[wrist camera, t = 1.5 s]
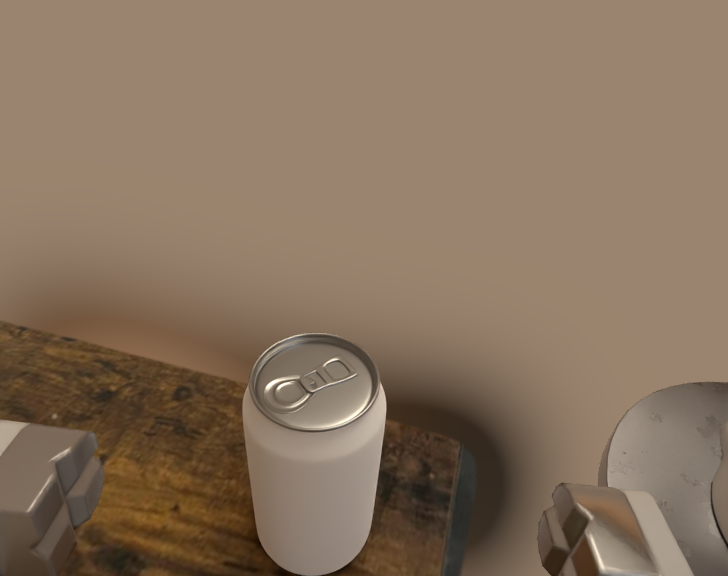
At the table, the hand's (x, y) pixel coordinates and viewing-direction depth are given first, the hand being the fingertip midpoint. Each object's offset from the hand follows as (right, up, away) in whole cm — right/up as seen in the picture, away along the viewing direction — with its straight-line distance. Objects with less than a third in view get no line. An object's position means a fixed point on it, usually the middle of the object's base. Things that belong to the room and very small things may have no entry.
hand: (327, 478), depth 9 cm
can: (-2, -10, +20) cm, 23 cm away
